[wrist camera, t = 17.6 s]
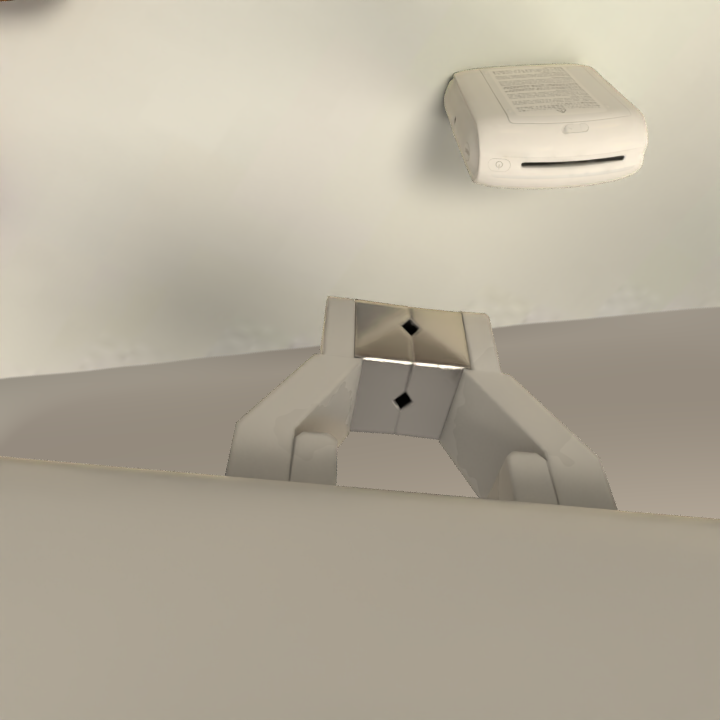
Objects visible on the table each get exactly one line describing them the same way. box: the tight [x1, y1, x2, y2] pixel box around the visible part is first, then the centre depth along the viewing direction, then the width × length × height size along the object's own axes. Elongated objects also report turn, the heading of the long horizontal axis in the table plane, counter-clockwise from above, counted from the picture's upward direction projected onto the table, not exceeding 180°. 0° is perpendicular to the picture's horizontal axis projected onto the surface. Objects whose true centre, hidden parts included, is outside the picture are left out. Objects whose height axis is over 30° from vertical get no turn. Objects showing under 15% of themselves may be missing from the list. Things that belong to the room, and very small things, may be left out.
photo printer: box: [444, 64, 648, 189], centre depth 39 cm, size 10×4×12 cm, turn 92°
